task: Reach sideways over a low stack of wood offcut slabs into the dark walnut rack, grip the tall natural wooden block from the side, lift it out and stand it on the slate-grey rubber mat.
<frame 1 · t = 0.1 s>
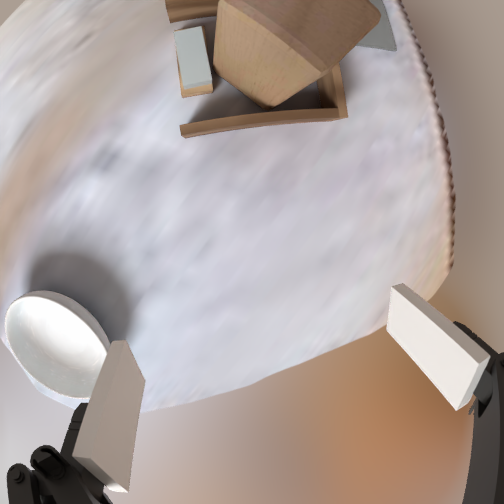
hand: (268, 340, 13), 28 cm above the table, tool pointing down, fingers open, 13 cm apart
mat: (350, 10, 31), on the table
offcut slab lower: (193, 63, 32), on the table, touching offcut slab upper
serving bowl: (68, 330, 41), on the table
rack: (246, 62, 32), on the table
offcut slab upper: (192, 59, 30), point 2 cm above the table, touching offcut slab lower
wooden block: (261, 67, 33), on the table
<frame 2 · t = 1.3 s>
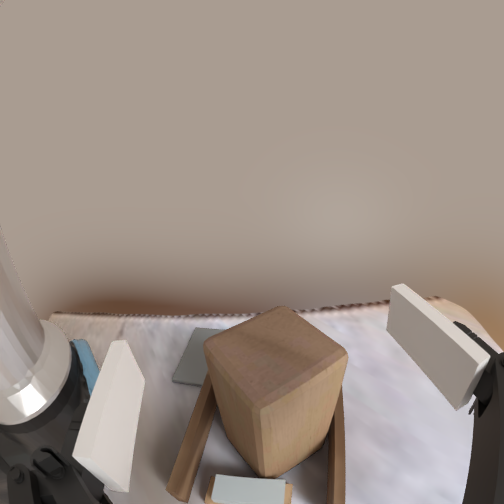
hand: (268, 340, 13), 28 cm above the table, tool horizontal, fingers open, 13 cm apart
mat: (221, 358, 49), on the table
offcut slab lower: (250, 498, 25), on the table, touching offcut slab upper
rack: (265, 454, 31), on the table
offcut slab upper: (249, 494, 24), point 2 cm above the table, touching offcut slab lower
wooden block: (274, 443, 33), on the table
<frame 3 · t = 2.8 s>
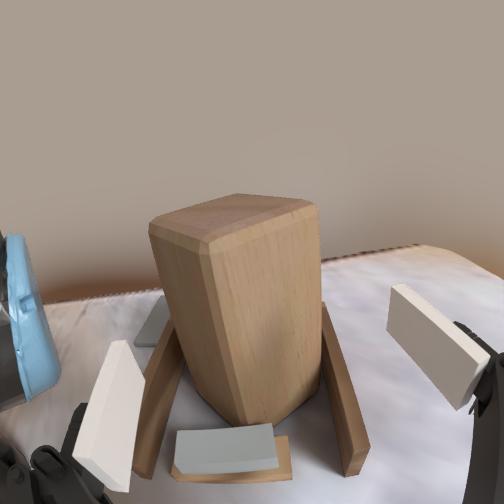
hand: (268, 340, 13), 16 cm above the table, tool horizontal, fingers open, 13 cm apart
mat: (189, 318, 44), on the table
offcut slab lower: (234, 467, 20), on the table, touching offcut slab upper
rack: (247, 407, 27), on the table
offcut slab upper: (228, 456, 20), point 2 cm above the table, touching offcut slab lower
wooden block: (258, 394, 28), on the table
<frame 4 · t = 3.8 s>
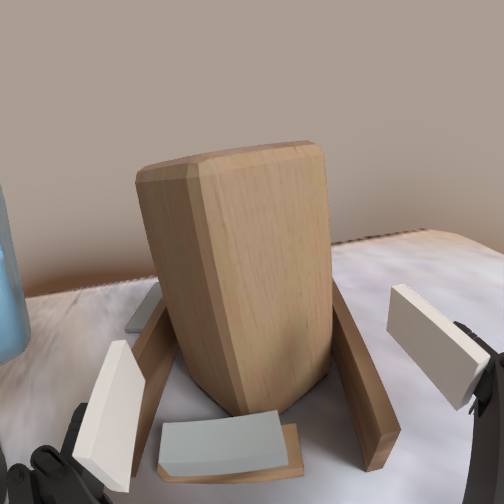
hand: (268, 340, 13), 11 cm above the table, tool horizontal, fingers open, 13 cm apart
mat: (184, 303, 41), on the table
offcut slab lower: (233, 464, 17), on the table, touching offcut slab upper
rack: (248, 394, 23), on the table
offcut slab upper: (226, 453, 16), point 2 cm above the table, touching offcut slab lower
wooden block: (260, 380, 25), on the table
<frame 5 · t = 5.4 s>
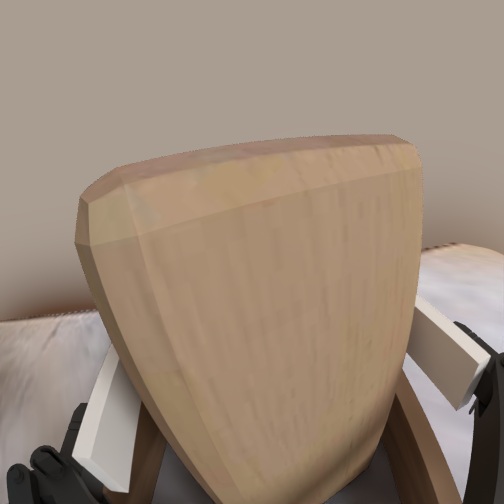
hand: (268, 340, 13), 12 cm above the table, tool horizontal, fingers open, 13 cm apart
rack: (271, 494, 14), on the table
wooden block: (277, 464, 16), on the table, touching gripper
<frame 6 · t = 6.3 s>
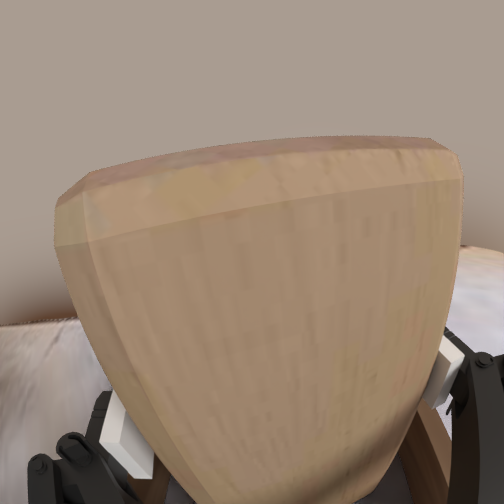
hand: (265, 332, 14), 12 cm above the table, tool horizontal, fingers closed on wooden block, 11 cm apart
wooden block: (284, 472, 16), on the table, touching gripper
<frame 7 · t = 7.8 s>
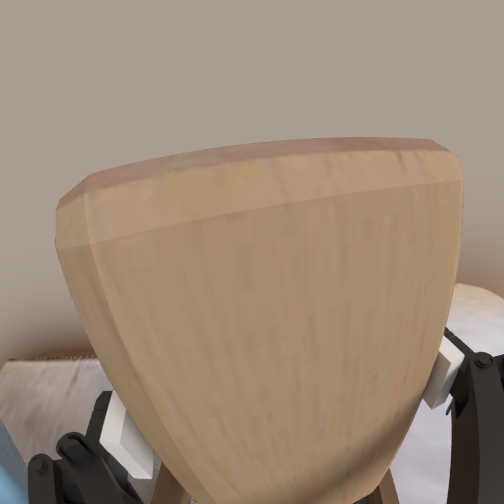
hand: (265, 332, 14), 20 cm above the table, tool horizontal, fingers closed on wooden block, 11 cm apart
wooden block: (284, 472, 16), point 8 cm above the table, touching gripper
when the fingers open (13 cm above the table, at t = 13.8 s): wooden block drops 1 cm, resting on mat.
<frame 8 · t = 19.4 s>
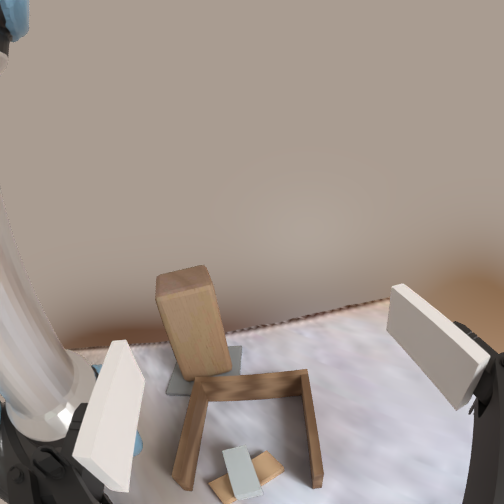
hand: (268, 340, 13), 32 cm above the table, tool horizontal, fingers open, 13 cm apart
mat: (206, 370, 55), on the table
offcut slab lower: (248, 481, 31), on the table, touching offcut slab upper
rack: (252, 442, 37), on the table
offcut slab upper: (243, 475, 30), point 2 cm above the table, touching offcut slab lower
wooden block: (206, 363, 56), resting on mat
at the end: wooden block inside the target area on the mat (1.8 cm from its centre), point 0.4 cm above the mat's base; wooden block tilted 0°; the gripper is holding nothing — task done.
